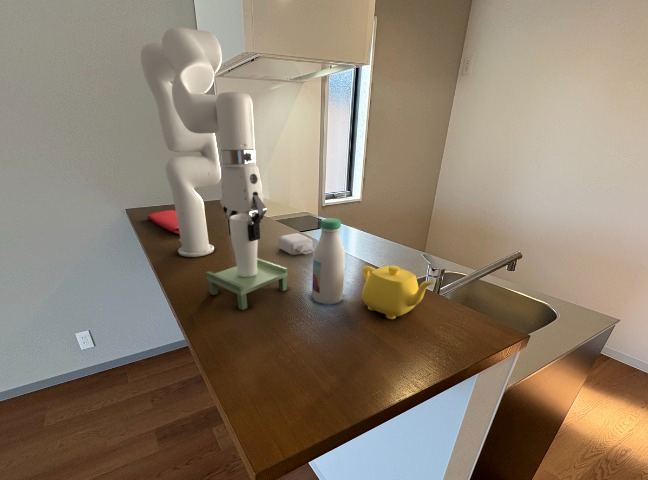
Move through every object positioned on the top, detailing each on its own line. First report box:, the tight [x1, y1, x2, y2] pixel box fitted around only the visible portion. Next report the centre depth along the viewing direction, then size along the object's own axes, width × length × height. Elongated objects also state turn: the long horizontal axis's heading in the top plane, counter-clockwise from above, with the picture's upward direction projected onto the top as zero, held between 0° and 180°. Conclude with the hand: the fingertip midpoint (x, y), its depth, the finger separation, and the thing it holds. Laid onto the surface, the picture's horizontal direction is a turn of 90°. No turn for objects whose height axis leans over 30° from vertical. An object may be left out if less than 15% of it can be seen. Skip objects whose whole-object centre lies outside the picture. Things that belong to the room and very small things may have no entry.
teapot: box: [361, 265, 436, 320], centre depth 73 cm, size 18×11×11 cm, turn 39°
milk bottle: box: [311, 217, 346, 305], centre depth 77 cm, size 8×8×20 cm
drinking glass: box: [228, 213, 259, 277], centre depth 80 cm, size 7×7×15 cm
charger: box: [277, 232, 315, 256], centre depth 113 cm, size 5×9×15 cm
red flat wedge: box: [146, 209, 180, 235], centre depth 151 cm, size 16×41×4 cm, turn 36°
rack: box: [205, 257, 289, 311], centre depth 84 cm, size 14×16×6 cm
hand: (244, 236), depth 79 cm, fingers closed on drinking glass, 6 cm apart
